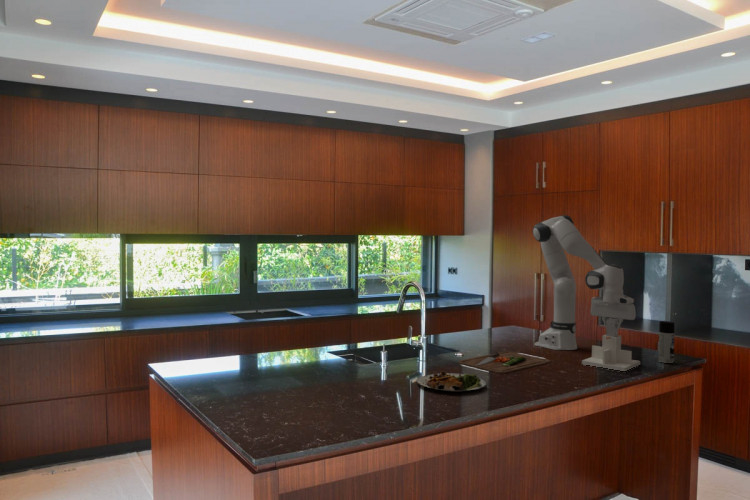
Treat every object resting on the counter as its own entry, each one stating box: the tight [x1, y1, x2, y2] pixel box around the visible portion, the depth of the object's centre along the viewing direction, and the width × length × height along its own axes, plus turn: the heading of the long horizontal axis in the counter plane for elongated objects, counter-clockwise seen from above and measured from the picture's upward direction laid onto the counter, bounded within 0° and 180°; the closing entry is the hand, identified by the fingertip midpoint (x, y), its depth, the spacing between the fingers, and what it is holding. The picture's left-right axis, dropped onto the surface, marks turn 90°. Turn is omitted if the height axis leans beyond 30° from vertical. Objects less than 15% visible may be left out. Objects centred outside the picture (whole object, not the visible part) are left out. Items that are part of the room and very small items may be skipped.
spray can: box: [658, 320, 675, 364], centre depth 280 cm, size 7×7×20 cm
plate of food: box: [416, 370, 487, 393], centre depth 233 cm, size 28×28×6 cm
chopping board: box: [458, 351, 551, 375], centre depth 275 cm, size 45×27×3 cm, turn 130°
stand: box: [581, 334, 641, 372], centre depth 273 cm, size 20×20×14 cm
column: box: [605, 317, 619, 337], centre depth 273 cm, size 4×4×18 cm
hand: (612, 327), depth 273 cm, fingers closed on column, 4 cm apart
